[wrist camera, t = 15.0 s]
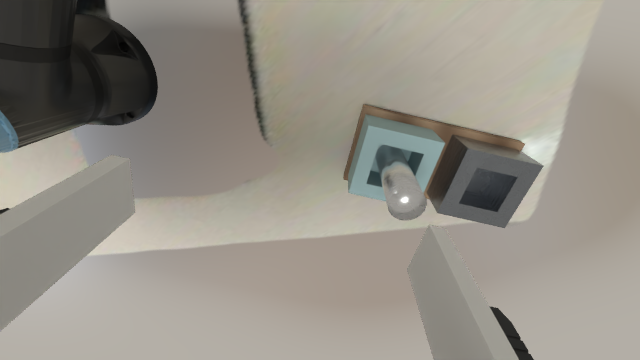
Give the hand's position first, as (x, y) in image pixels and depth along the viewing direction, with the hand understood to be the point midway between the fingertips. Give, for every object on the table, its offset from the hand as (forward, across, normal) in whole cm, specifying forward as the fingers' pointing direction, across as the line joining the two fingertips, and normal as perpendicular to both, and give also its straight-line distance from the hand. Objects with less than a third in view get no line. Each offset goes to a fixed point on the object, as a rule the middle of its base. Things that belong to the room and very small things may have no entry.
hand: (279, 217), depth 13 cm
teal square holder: (+31, +12, -6) cm, 34 cm away
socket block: (+30, +25, -6) cm, 40 cm away
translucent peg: (+30, +12, -6) cm, 33 cm away
